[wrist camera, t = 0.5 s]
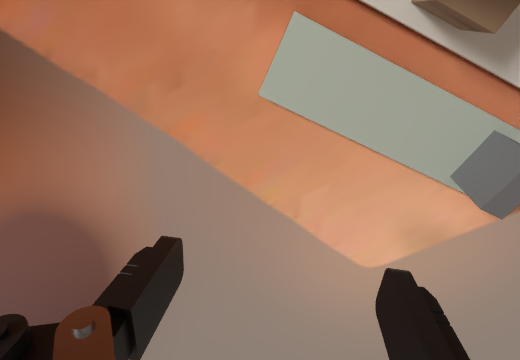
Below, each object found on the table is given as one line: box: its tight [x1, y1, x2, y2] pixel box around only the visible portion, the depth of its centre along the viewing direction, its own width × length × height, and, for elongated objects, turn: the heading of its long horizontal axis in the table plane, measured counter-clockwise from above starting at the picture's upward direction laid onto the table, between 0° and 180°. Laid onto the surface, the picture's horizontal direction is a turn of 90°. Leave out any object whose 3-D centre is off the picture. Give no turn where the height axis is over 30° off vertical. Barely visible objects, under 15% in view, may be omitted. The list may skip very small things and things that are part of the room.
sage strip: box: [258, 11, 520, 219], centre depth 26 cm, size 8×26×7 cm, turn 66°
